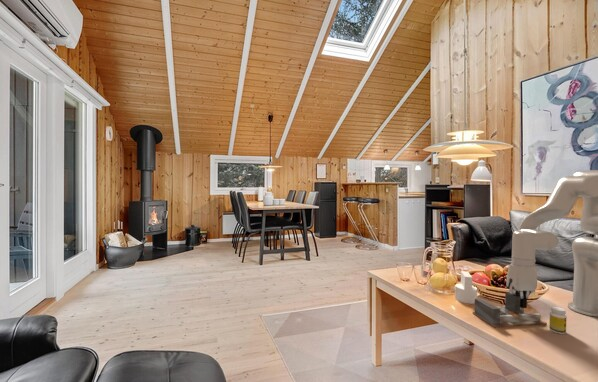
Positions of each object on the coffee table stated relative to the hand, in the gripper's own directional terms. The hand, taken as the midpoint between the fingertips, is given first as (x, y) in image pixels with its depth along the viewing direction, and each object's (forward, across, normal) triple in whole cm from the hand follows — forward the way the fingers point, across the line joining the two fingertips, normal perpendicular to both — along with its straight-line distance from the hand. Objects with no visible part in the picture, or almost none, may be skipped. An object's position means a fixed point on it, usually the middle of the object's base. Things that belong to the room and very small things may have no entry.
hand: (521, 306), depth 122 cm
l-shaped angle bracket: (+4, +7, +2) cm, 8 cm away
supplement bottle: (+5, -4, +11) cm, 13 cm away
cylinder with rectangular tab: (+5, +10, -20) cm, 23 cm away
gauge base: (+5, +6, 0) cm, 7 cm away
